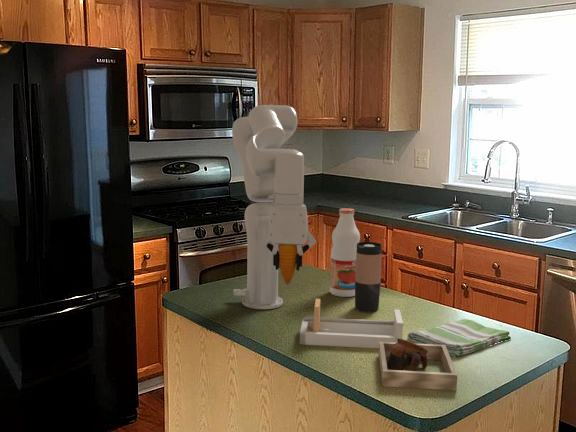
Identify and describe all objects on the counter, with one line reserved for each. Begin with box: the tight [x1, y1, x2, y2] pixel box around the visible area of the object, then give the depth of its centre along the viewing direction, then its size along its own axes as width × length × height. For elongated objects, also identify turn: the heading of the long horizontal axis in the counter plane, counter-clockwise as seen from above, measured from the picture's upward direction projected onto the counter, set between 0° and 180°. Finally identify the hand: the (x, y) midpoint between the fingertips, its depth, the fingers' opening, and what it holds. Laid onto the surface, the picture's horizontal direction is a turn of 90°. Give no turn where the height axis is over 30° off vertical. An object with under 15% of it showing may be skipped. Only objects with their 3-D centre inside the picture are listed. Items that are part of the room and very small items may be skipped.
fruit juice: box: [329, 207, 361, 298], centre depth 208 cm, size 9×9×28 cm
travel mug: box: [354, 241, 383, 313], centre depth 194 cm, size 8×8×20 cm
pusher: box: [313, 298, 331, 333], centre depth 169 cm, size 4×7×9 cm, turn 175°
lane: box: [299, 309, 404, 349], centre depth 169 cm, size 26×11×7 cm, turn 85°
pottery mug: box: [386, 338, 428, 371], centre depth 149 cm, size 12×10×8 cm
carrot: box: [278, 244, 298, 285], centre depth 167 cm, size 5×5×15 cm
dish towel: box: [407, 318, 512, 358], centre depth 171 cm, size 17×23×4 cm
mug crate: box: [378, 342, 458, 391], centre depth 149 cm, size 16×18×4 cm
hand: (287, 268), depth 167 cm, fingers closed on carrot, 4 cm apart
